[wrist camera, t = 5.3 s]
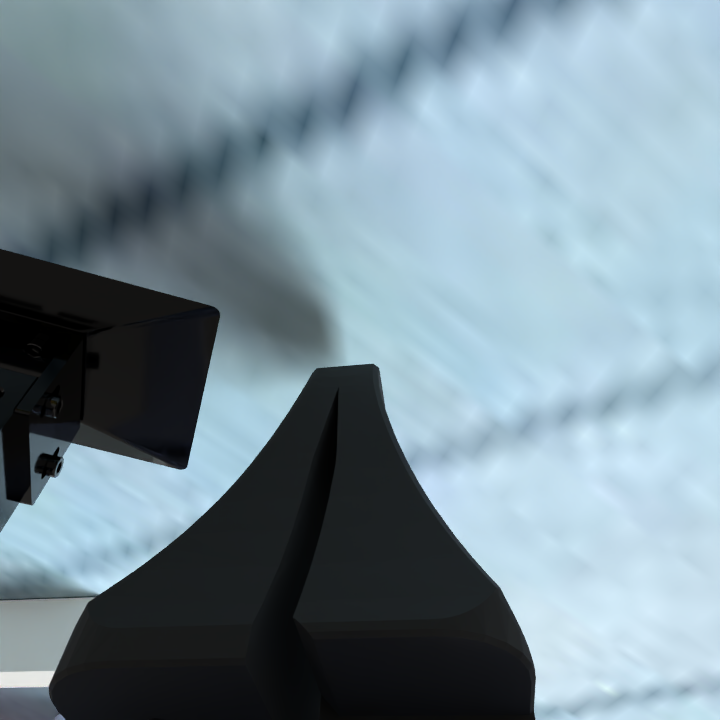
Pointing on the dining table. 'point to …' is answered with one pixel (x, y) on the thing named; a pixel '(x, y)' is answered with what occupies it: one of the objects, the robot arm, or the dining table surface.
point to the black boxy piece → (93, 372)
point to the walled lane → (35, 638)
